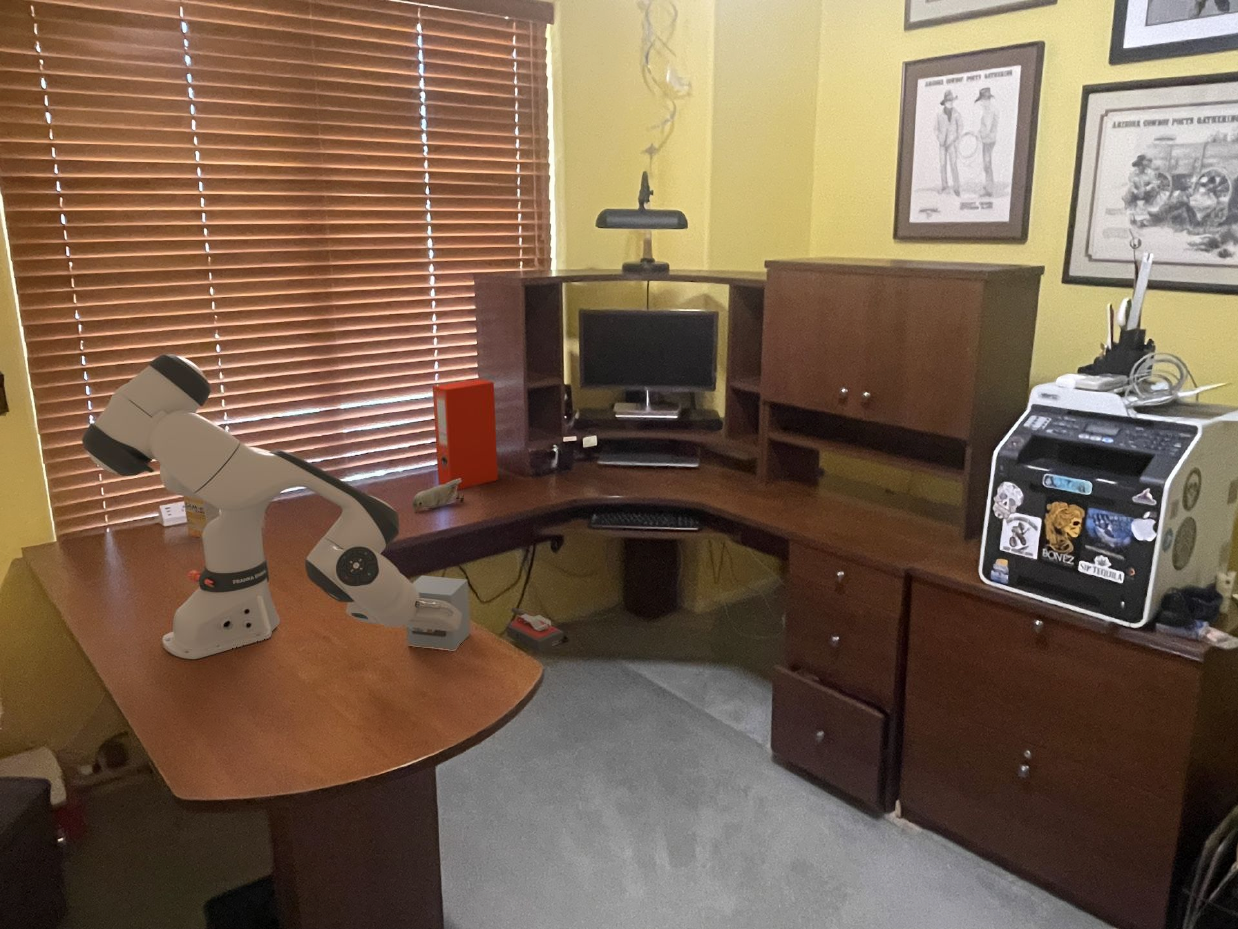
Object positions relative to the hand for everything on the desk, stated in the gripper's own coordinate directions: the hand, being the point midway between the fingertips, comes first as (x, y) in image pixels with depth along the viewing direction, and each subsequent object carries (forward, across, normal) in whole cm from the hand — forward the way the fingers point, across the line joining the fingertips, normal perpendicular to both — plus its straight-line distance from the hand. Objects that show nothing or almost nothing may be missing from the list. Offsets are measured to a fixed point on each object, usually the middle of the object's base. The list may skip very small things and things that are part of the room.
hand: (421, 627), depth 175 cm
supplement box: (+41, +89, -32) cm, 103 cm away
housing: (+10, 0, -1) cm, 10 cm away
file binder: (+84, +38, -75) cm, 119 cm away
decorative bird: (+67, +37, -57) cm, 95 cm away
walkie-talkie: (+15, -17, -6) cm, 23 cm away
